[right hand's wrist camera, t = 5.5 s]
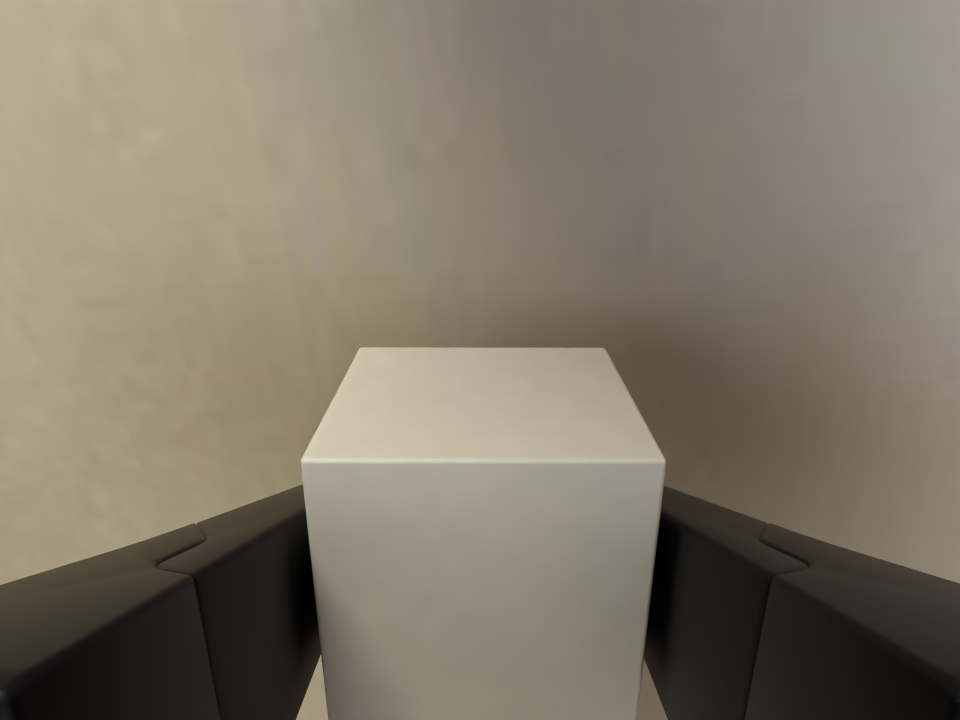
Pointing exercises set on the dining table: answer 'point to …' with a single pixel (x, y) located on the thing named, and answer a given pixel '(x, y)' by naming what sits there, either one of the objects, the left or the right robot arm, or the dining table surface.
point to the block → (482, 536)
